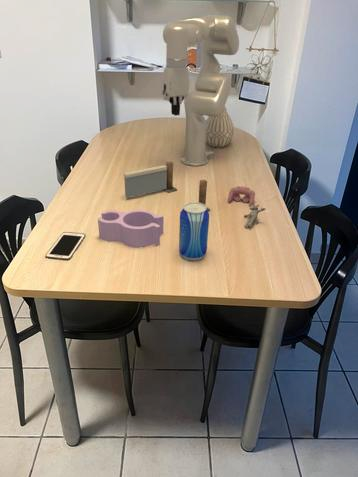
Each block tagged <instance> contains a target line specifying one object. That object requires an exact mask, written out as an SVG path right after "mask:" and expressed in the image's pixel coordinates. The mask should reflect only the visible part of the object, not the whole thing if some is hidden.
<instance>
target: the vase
mask: <svg viewBox="0 0 358 477" xmlns="http://www.w3.org/2000/svg"><path fill="white" fill-rule="evenodd" d="M205 120H206V124H207V130H206V144H207V145H208V146H210V147H212V148H224V147H226V146H228V144H230V142H231V141H232V139H233V136H234V132H235V128H234V124H233V120H232V118H231V117H230V115H229V113H228V111H227V107H226V105H225V106H224V109H223V112H222V113H221V115H220V116H217V117H213V116H207V118H206V119H205Z"/></svg>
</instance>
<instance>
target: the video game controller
mask: <svg viewBox="0 0 358 477" xmlns="http://www.w3.org/2000/svg"><path fill="white" fill-rule="evenodd" d="M241 195H243V197H242V198H241ZM255 196H256V193H255V191H254V190H253V189H252V188H250V187H246V186H234V187H232V188H230V191H229V193H228V197H227V203H228V204H230V203H231V202H232V201H233V198H234V200H235V201H236V202H239V201H240V200H242V201H243V203H249V207H250V206H251V205H254V202H255Z"/></svg>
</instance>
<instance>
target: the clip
mask: <svg viewBox="0 0 358 477" xmlns="http://www.w3.org/2000/svg"><path fill="white" fill-rule="evenodd" d="M100 214H101V217H100V216H99V217H97V227H98V235H99V236H98V237H99V238H100V240H102V241H105V242H119V243H122V244H123V245H124V246H127V247H130V248H133V247H134V248H135V249H140V247H143V248H147V247H146V246H148V247H150V245H151V246H153V245H152V244H155V245H154V246H157V247H158V245H159V246H160V245H161V236H163V235H164V215H163V214H156V213H155V212H153V211H150V210H146V209H133V210H127V211H119V210H115V209H114V210H111V209H110V210H105V211H101V213H100ZM162 234H163V235H162Z"/></svg>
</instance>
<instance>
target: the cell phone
mask: <svg viewBox="0 0 358 477" xmlns="http://www.w3.org/2000/svg"><path fill="white" fill-rule="evenodd" d="M85 238H86V233H82V232H71V231H63V232H62V233H61V234H60V236H59V237H58V238H57V240H56V241H55V242H54V243H53V245H52V246H51V247H50V248H49V250H48V251H47V252H46V254H45V259H47V258H48V259H47V260H56V261H71V260H72V258H73V256H74V254H75V252H77V250H78V249H79V247H80V246H81V244H82V243H83V241H84V240H85Z"/></svg>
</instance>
